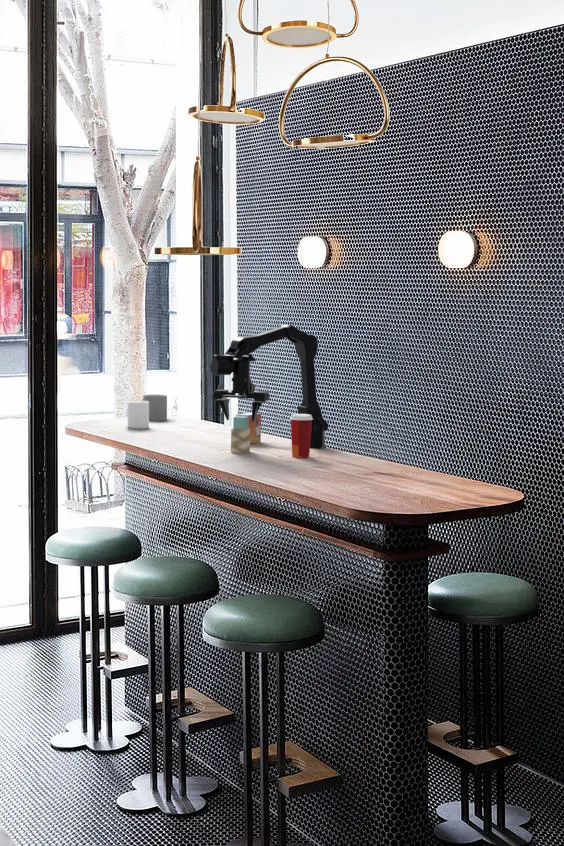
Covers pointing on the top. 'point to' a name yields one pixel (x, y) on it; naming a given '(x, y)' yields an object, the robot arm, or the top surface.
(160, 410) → the coffee mug
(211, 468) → the top surface
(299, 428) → the paper cup
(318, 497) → the top surface
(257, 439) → the small box
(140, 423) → the mug
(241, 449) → the birch lower block
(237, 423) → the teal cube
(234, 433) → the birch upper block
